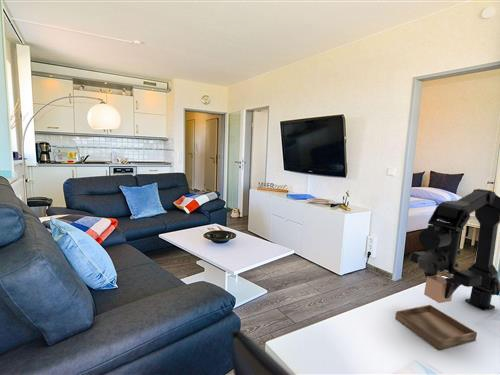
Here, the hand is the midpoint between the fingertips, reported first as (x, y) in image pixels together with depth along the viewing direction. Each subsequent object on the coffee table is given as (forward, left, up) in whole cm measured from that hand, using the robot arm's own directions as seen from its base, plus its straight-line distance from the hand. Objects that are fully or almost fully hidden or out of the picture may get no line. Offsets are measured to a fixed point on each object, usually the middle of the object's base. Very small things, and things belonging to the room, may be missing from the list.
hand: (438, 293), depth 88 cm
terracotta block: (0, 0, -1) cm, 1 cm away
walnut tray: (0, +1, -11) cm, 11 cm away
